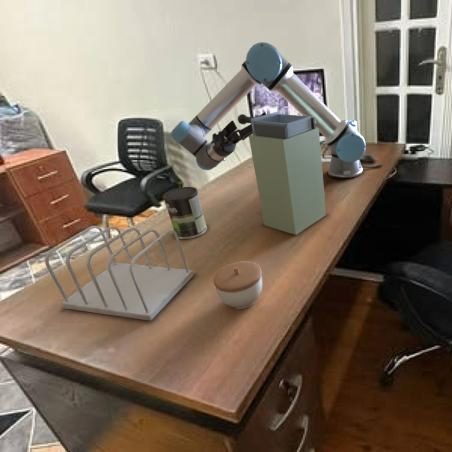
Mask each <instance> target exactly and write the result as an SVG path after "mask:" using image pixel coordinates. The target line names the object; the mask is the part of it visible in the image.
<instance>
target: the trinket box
mask: <svg viewBox="0 0 452 452" xmlns="http://www.w3.org/2000/svg"><path fill="white" fill-rule="evenodd" d="M213 284H214V287H215V290H216V292H217V294H218V297H219V298H220V299H221V301H222V302H223V303H224V304H225V305H227V306H229V307H232V308H234V309H237V310H242V309H246V308H249V307H251V306H253V305H254V304H255V303H256V301H257V300H258V298H260V296H261V294H262V291H263V276H262V268H261V266H260V265H259V264H258V263H256V262H253V261H249V260H240V261H235V262H231V263H229V264H228V263H227V264H226V265H224V266H223V267H221V268H219V269H218V271H216V273H214V276H213Z"/></svg>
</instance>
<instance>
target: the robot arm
mask: <svg viewBox="0 0 452 452" xmlns="http://www.w3.org/2000/svg"><path fill="white" fill-rule="evenodd" d="M240 67H241V68H240V70H239V71H238V72H237V73H236V74H235V75H234V76H233V77H232V78H231V79H230V80H229V81H228V82H227V84H225V86H223V87H222V88H221V89H220V91H219V92H218V93H217V94H216V95H215V96H214V97H213V98H211V100H209V102H207V104H206V105H205V106H204V107H203V108H202V109H201V110H200V111H199V112H198V113H197V114H196V115H195V116H194V117H193V118H192V119H191V120H190V121H189V122H186V121H184V120H181V121H179V122H178V123H177V125H176V126H174V128H173V129H172V130H171V131H170V137H171V138H172V139H173V140H174V141H175V142H176V143H177V144H179V145H180V146H181V147H183V148H184V149H185V150H186V151H188V153H190V154H191V155H192V156H193V157H194V158H195V162H196V164H197V166H198V167H199V168H200V169H201V170H204V171H211V170H213V169H214V168H217V166H219V164H221V163H222V162H225V161H226V158H227V157H229V156H230V155H231V154H232V153H234V152H235V150H236V148H237V144H238V143H239V142H240V141H245V140H246V139H247V138H249V136H250V135H253V130H252V124H251V123H249V125H247V126H245V127H243V128H241V129H238V126H237V125H236V123H235V121H234V120H231V121H229V123H227V124H226V126H225V127H223V128H222V129H221V130H220V131H218V132H217V133H216V132H215V133H213V134H212V137H211V141H210V142H209V141H208V140H207V139H206V138H205V137H206V136H207V135H208V134H209V133H210V132H211V131H212V130H213V129H214V128H215V127H216V126H217V125H218V124H219V123H220V122H221V121H222V120H223V119H224V118H225V117H226V116H227V115H228V114H229V113H230V112H231V111H232V110H233V109H234V108H235V107H236V106H237V105H238V104H239V103H240V102H241V101H242V100H243V99H244V98H245V97H246V96H247V95H248V94H249V93H250V92H251V91H252V90H254V88H255V87H256V86H261V85H263V86H264V87H265V88H266V89H267V90H268V91H270V92H275V93H276V92H277V94H279V95H280V96H281V97H282V98H283V99H284V100H286V102H288V103H289V105H291V106H292V107H293V108H294V110H296V111H297V112H298V113H299V114H300V116H311V117H312V118H315V119H316V127H317V128H319V134H321V135H322V136H323V137H324V143H325V145H327V146H328V147H329V148H330V153H331V155H330V156H331V158H330V161H329V165H328V170H327V172H328V175H329V176H330V177H331V178H334V179H343V180H345V179H353V178H357V177H359V176H362V174H363V168H369V169H373V168H374V169H375V168H379V167H382V166H383V165H382V164H381V163H380V164H376V165H362V163H361V160H360V159H362V157H363V156H364V155H365V153H366V149H367V148H366V147H367V144H366V140H365V138H364V136H363V135H362V134H361V133H359V131H358V124H357V121H356V120H354V119H347V120H346V119H340V118H339V117H338V116H337V115H336V114H335V113H334V112H333V111H332V110H331V109H330V108H329V107H328V106H327V105H326V104H325V103H324V102H323V101H322V100H321V99H320V98H319V97H318V96H317V94H315V93H314V91H312V90H311V89H310V88H309V87H308V86H307V85H306V84H305V83H304V82H303V81H302V80H301V79H300V78H299V77H298V76H297V75H296V73H294V71H293V65H292V63H290V62H289V61H288V60H287V59H286V58H285V56H284V55H282V54H281V53H280V51H278V48H276V47H275V46H274V45H273V44H271V43H269V42H263V41H260V42H257V43H255V44H253V45H252V46H251V47H249V49H248V51H247V53H246V57H245V60H244V61H243V62H242V64H241V65H240ZM263 115H267V113H266V111H263V112H262V113H261V114H260V115H259V116H258V117H260V116H263Z"/></svg>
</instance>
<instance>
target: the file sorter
mask: <svg viewBox="0 0 452 452" xmlns="http://www.w3.org/2000/svg"><path fill="white" fill-rule="evenodd" d="M93 229H97V230H98V231H99V232H98V233H96V234H95V235H93V236H92V237H90V238H88V239H87V240H85V241H83V242H82V243H80V244H78V245H76V246H75V247H73V248H72V249H70V250H69V251H68V253H67V254H66V257H65V264H66V267H67V269H68V272H69V274H70V276H71V278H72V280H73V282H74V284H75V286H76V289H77V290H76V291H75V292H74V293H72V294H71V295H69V296H67V294H66V292H65V291H64V289H63V287H62V285H61V283H60V281H59V279H58V277H57V275H56V273H55V272H54V270H53V268H52V266H51V265H50V262H49V261H50V257H51V256H52V254H53V253H54V252H56V251H58V250H60V249H61V248H62V247H64V246H66V245H67V244H69V243H71V242H72V241H74V240H75V239H77V238H79V237H80V236H83V235H84V234H86V233H88V232H90V230H93ZM110 230H115V231H116V232H117V235H116V236H114V237H113V238H111V239H109V240H108V239H107V237H106V235H105V233H107V232H109V231H110ZM131 231H135V232H136V234H137V236H136V237H135V238H134V239H132V240H130V241H129V242H127V243H126V241H125V238H124V236H125V235H126V234H128V233H130V232H131ZM150 233H154V235H155V236H156V239H155V240H154V241H152V242H151V243H149V244H148V245H147V246H145V242H144V240H143V238H144V237H145V236H146V235H148V234H150ZM170 233H172V234H173V235H174V237H175V242H176V245H177V247H178V250H179V253H180V257H181V260H182V263H183V266H184V269H183V268H175V267H170V264H169V261H168V259H167V255H166V252H165V249H164V246H163V243H162V239H164V238H165V237H166V236H167V235H169V234H170ZM100 236H101V237H102V239H103V241H104V243H103V244H102V245H100V246H98V247H97V248H95V249H94V250H92V251H90V252H89V254H88V256H87V258H86V262H85V264H86V268H87V271H88V274H89V275H90V278H91V280H90V281H88V282H87V283H86V284H84V285H83V286H81V284H80V282H79V280H78V278H77V277H76V274H75V272H74V270H73V268H72V267H73V266H72V265H71V262H70V260H71V256H72V255H73V254H74V253H75V252H76V251H78V250H79V249H81V248H83V247H85V246H86V245H88V244H89V243H91V242H92V241H94V240H96V239H98V238H99V237H100ZM118 239H120V240H121V243H122V247H120V248H119V249H117V250H116V251H114V252H113V251H112V249H111V246H110V244H111V243H114V242H115V241H117V240H118ZM138 241H139V243H140V245H141V248H142V249H141V251H139V252H138V253H137V254H135V255H134V256H133V257H132V256H131V253H130V251H129V247H130V246H133V244H135V243H136V242H138ZM157 243H158V245H159V248H160V252H161V253H162V254H161V255H162V258H163V261H164V264H165V266H166V267H165V266H157V265H156V266H154V265H152V263H151V261H150V257H149V254H148V252H147V251H148V250H150V249H151V248H152V247H154V246H155V245H156V244H157ZM104 248H107V251H108V253H109V255H110V256H109V257H108V258H107V259H108V260H107V263H106V269H105V270H103V271H102V272H100V273H99V274H98V275H95V273H94V272H93V268H92V266H91V260H92V257H93V256H94V255H95V254H96V253H98V252H99V251H101V250H103V249H104ZM123 251H125V253H126V256H127V258H128V262H129V263H126V262H117V260H116V258H115V257H116V256H117V255H119V254H120V253H122V252H123ZM142 255H144V257H145V260H146V262H147V265H146V264H137V263H135V262H136V261H137V260H138V258H140V257H141V256H142ZM112 262H113V264H112ZM44 264H45V266H46V269H47V270H48V272H49V274H50V276H51V278H52V280H53V281H54V283H55V285H56V287H57V288H58V290H59V292H60V294H61V295H62V297H63V299H64V300H63V301H62V302H61V305H62V307H63V309H66V310H74V311H81V312H88V313H94V314H101V315H107V316H115V317H121V318H128V319H135V320H142V321H152V320H153V319H154V318H155V317H156V316H157V315H158V314H159V313H160V312H161V311H162V310H163V309H164V308H165V307H166V305H167V304H168V303H169V302H170V301H171V300H172V299H173V298H174V297H175V296H176V295H177V294H178V293H179V291H180V290H182V289H183V288H184V287H185V285H187V283H188V282H189V281H190V280H191V279H192V278H193V277H194V275H195V274H194V271H193V270H192V269H189V268H188V265H187V262H186V258H185V255H184V252H183V247H182V244H181V241H180V239H179V238H178V235H177V233H176V232H175V231H174V229H169V230H166V231H165V232H164V233H163V234H161V235H160V234H159V232H158V231H157V230H156V229H148V230H147V229H146V231H145V232H143V233H141V231H140V230H139V229H138V228H137V227H129V228H127V229H125V230H124V231H123V232H122V231H121V229H120V228H119V227H117V226H113V225H112V226H108V227H107V228H104V229H102V228H101V227H100V226H98V225H91V226H88V227H87V228H86V229H84V230H82V231H80V232H79V233H77V234H75V235H73V236H72V237H69V238H68V239H66V240H65V241H63V242H61V243H60V244H58V245H56V246H55V247H53V248H51V249H50V250H49V251H47V253H46V255H45V256H44Z"/></svg>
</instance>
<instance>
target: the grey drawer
mask: <svg viewBox="0 0 452 452" xmlns="http://www.w3.org/2000/svg"><path fill="white" fill-rule="evenodd" d="M266 114H267V113H266ZM259 116H260V115H259ZM259 116H247V115H246V114H244V113H241V114H239V115H238V116H237V122H238V124H240V125H246V124H252V130H253V134H256V131H255V124H263V125H273V126H282V127H287V132H288V138H289V137H292V136H294V135H297V134H300V133H303V132H306V131H308V130H311V129H312V126H311V116H302V115H299V114H283V113H282V112H281V111H279V110H278V111H274V112H271V113H268V114H267V115H263V116H260V117H259ZM253 134H252V135H253Z"/></svg>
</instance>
